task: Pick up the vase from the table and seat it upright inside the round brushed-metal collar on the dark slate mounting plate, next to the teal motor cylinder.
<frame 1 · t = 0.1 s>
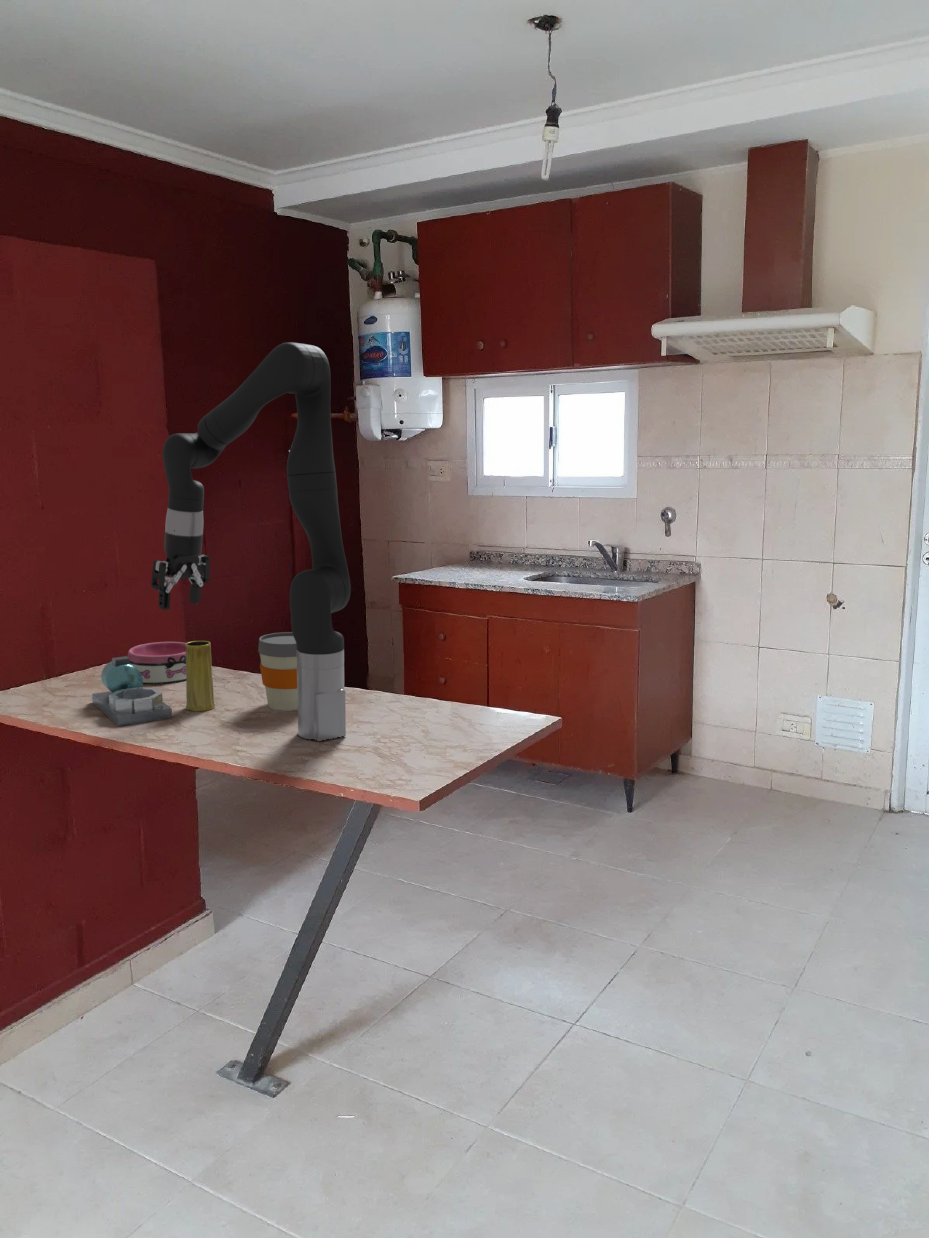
hand: (179, 606, 203), 22 cm above the countertop, fingers open, 8 cm apart
dog bowl: (163, 676, 234), on the countertop
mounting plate: (131, 709, 205), on the countertop
reusable coffee cup: (288, 705, 211), on the countertop
vase: (200, 708, 208), on the countertop
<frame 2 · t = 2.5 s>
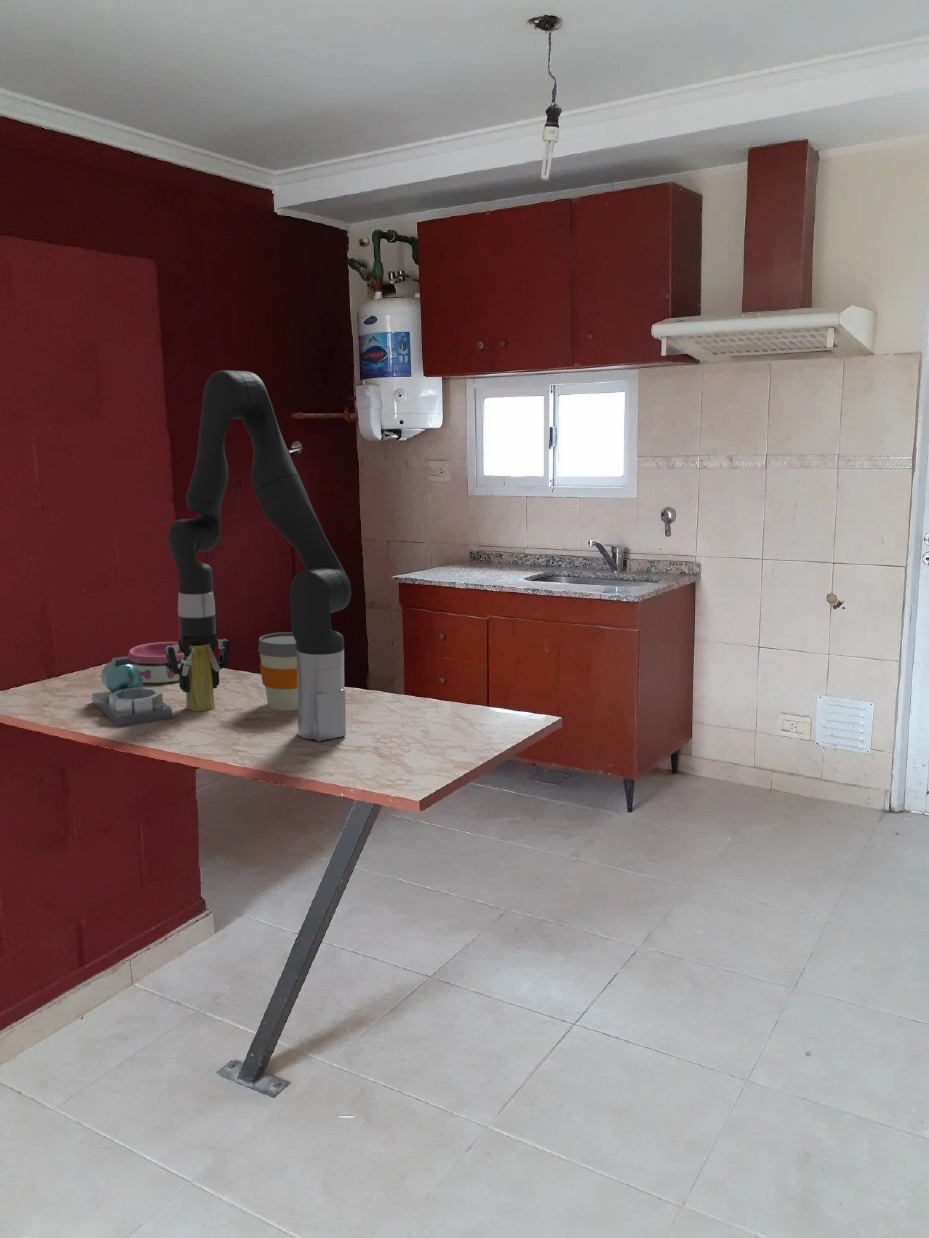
hand: (199, 689, 207), 4 cm above the countertop, fingers closed on vase, 5 cm apart
vase: (200, 708, 208), on the countertop, touching gripper
everything else where it was.
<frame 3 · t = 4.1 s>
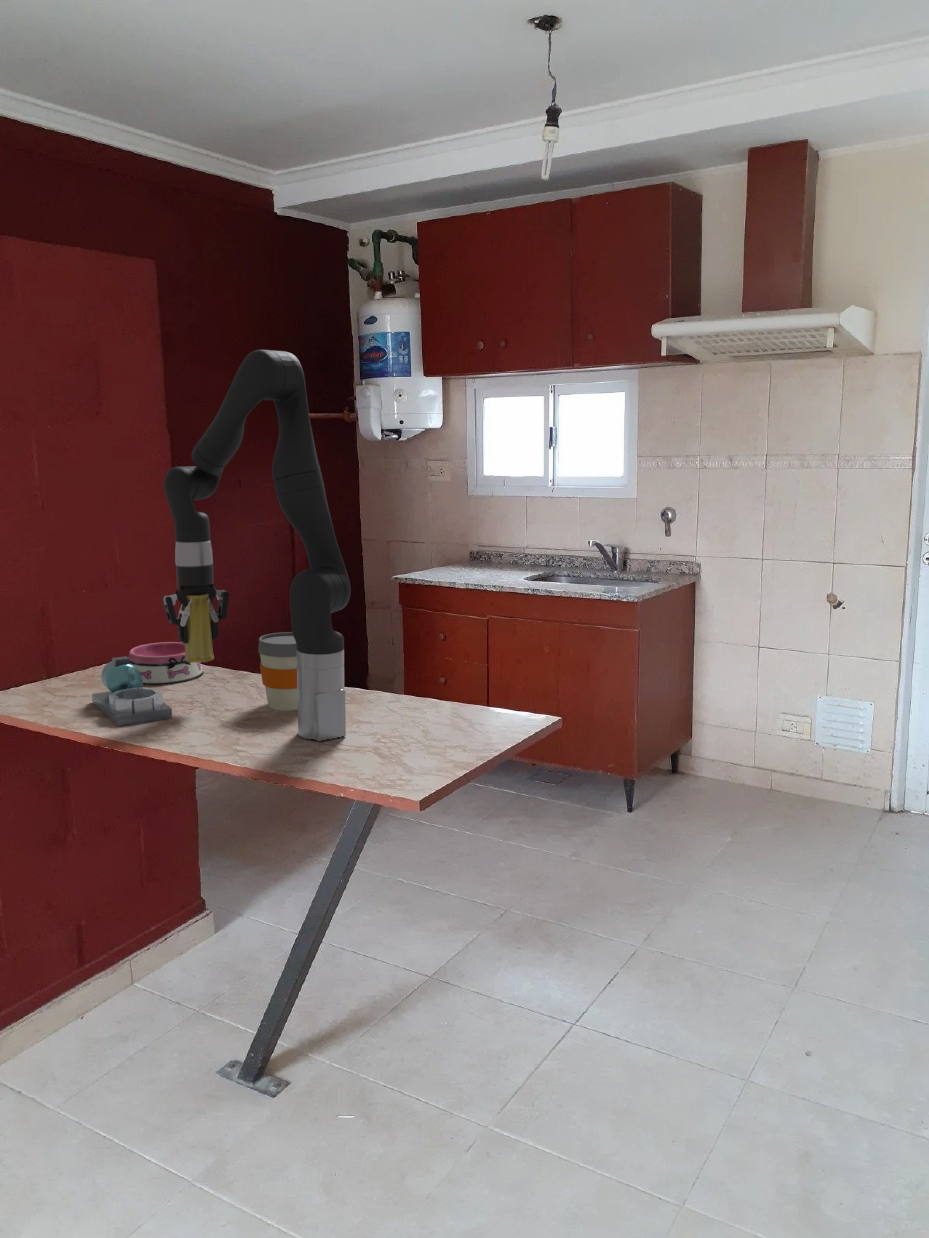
hand: (198, 640, 205), 15 cm above the countertop, fingers closed on vase, 5 cm apart
vase: (199, 660, 205), point 10 cm above the countertop, touching gripper
everything else where it was.
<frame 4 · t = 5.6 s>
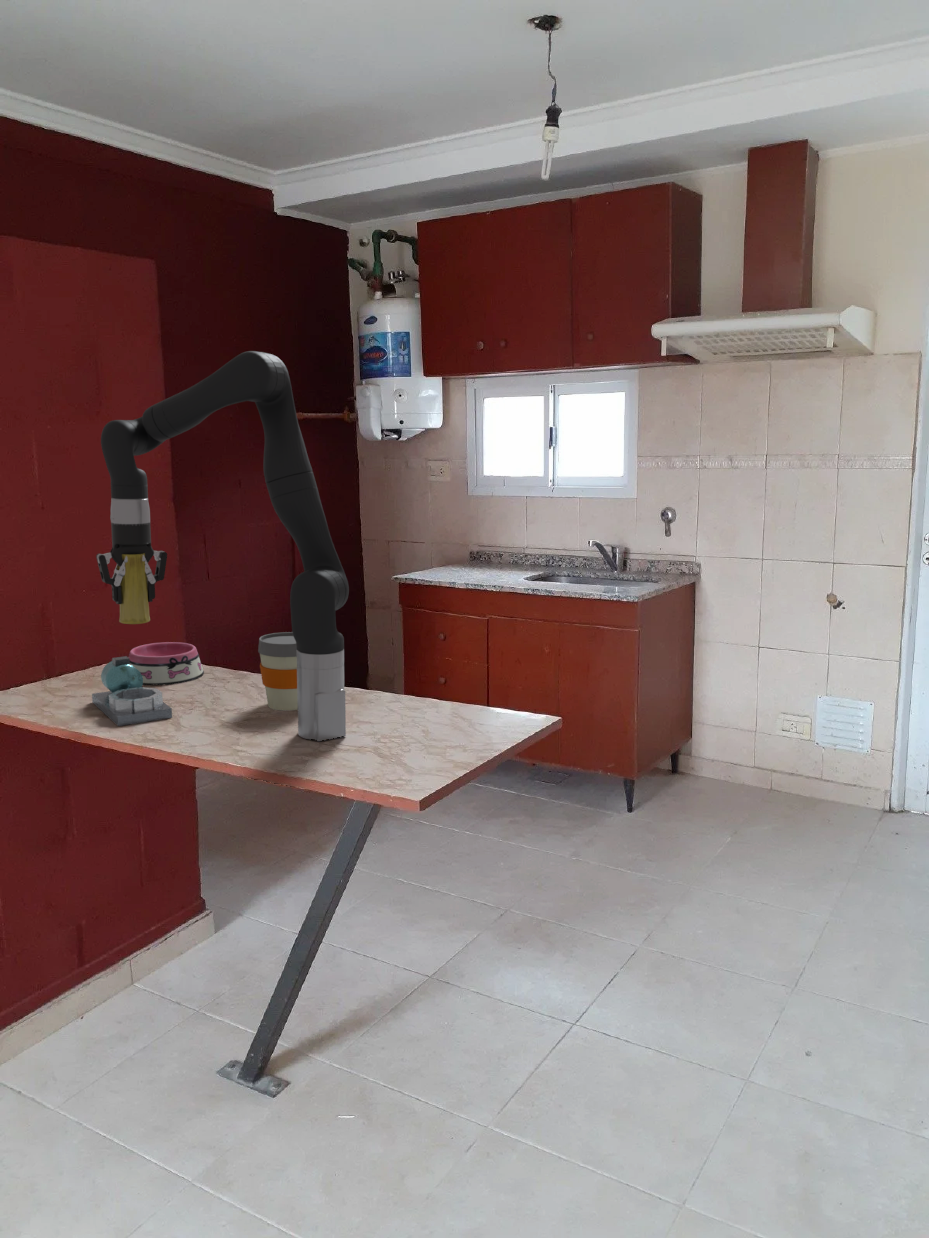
hand: (134, 602, 198), 24 cm above the countertop, fingers closed on vase, 5 cm apart
vase: (134, 622, 199), point 20 cm above the countertop, touching gripper
everything else where it was.
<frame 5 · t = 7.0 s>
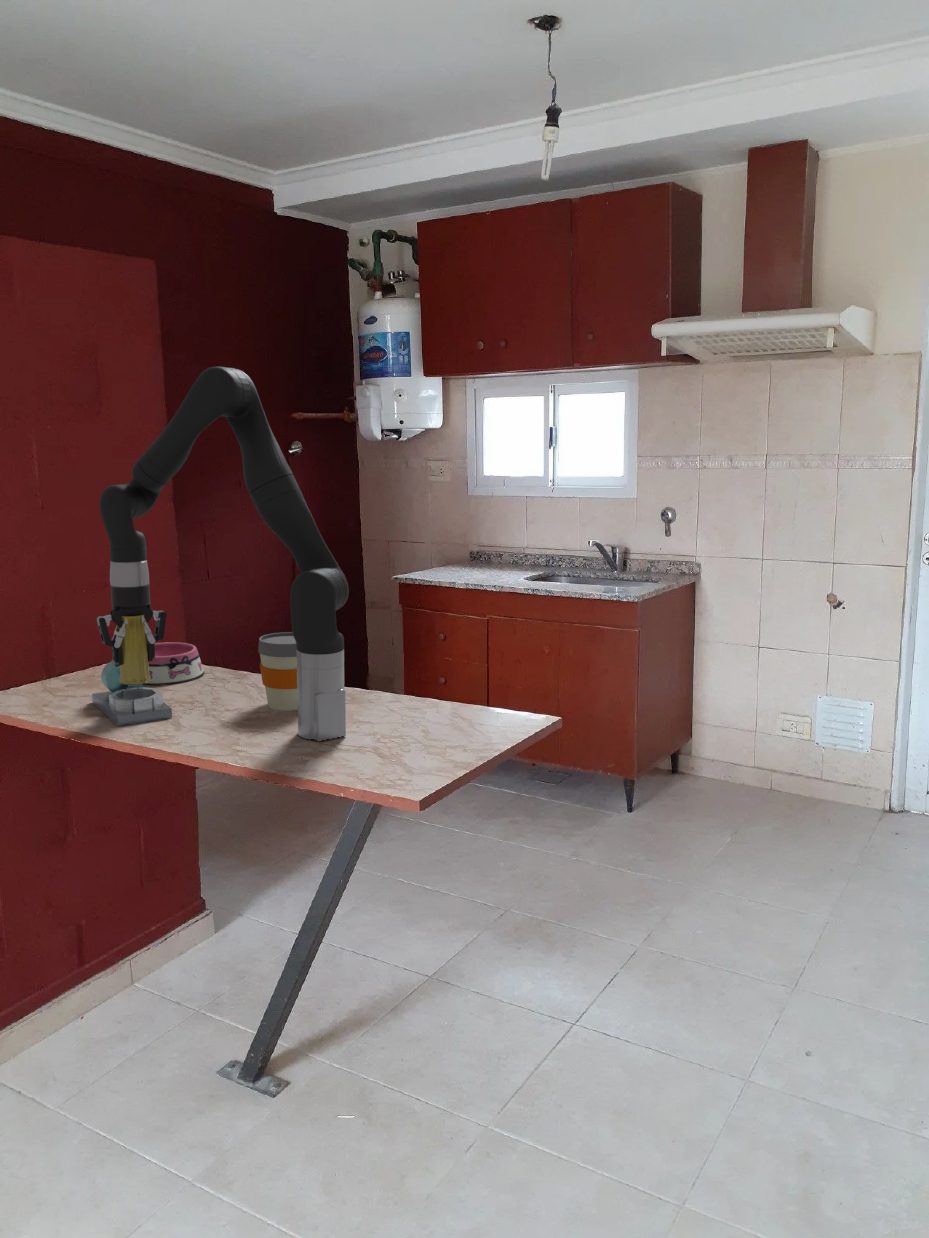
hand: (134, 662, 200), 11 cm above the countertop, fingers closed on vase, 5 cm apart
vase: (135, 682, 201), point 7 cm above the countertop, touching gripper
everything else where it was.
when the fingers open (7 cm above the countertop, at t = 8.4 s): vase stays where it is, resting on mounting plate.
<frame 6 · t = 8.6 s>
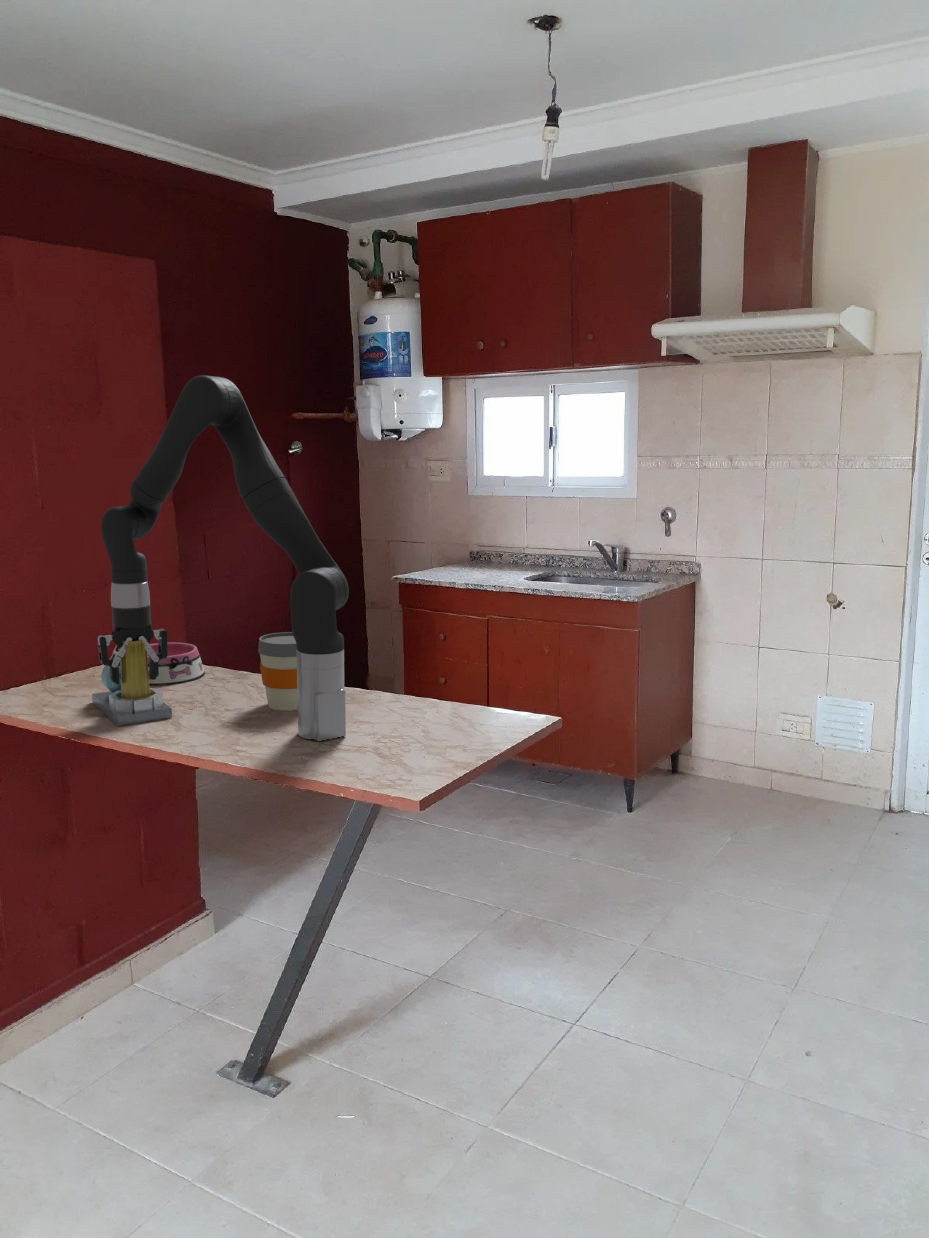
hand: (135, 681, 200), 7 cm above the countertop, fingers open, 7 cm apart
vase: (136, 706, 202), point 2 cm above the countertop, touching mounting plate
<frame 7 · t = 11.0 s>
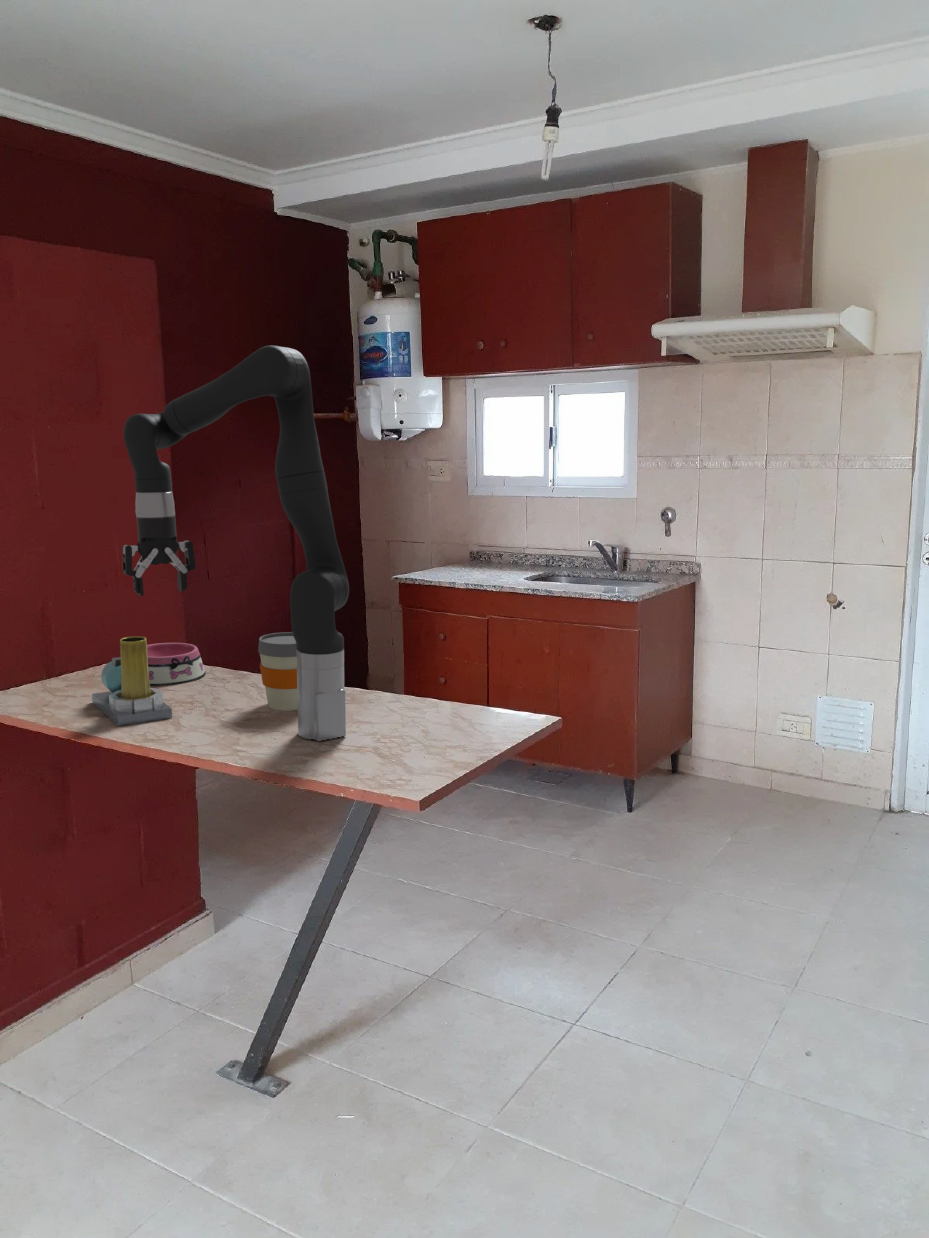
hand: (161, 593, 198), 26 cm above the countertop, fingers open, 8 cm apart
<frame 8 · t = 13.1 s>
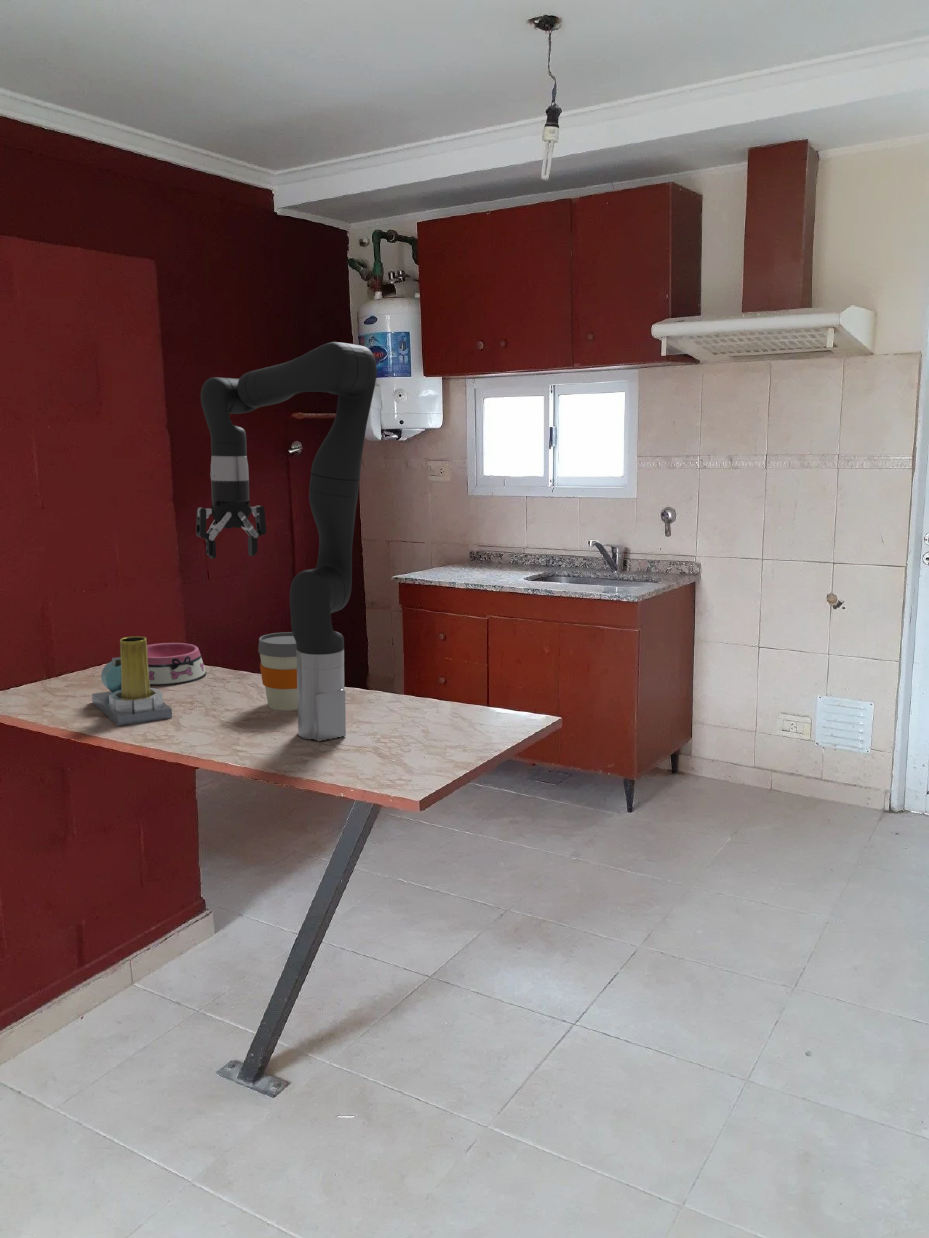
hand: (232, 557, 200), 33 cm above the countertop, fingers open, 8 cm apart
at the end: vase 0.1 cm from the target spot on the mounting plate, point 1.8 cm above the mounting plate's base; vase tilted 0°; the gripper is holding nothing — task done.
